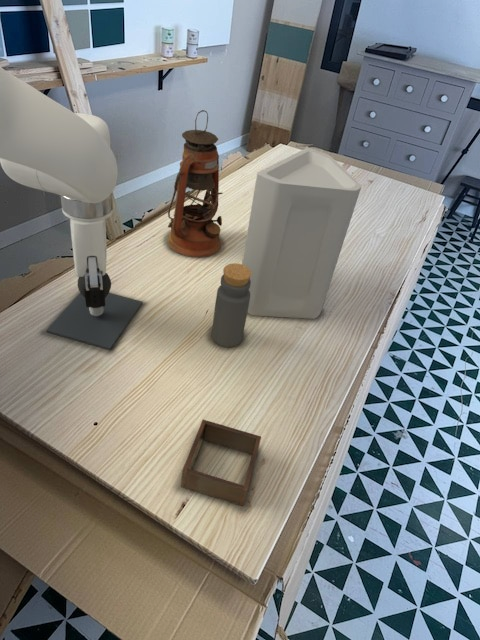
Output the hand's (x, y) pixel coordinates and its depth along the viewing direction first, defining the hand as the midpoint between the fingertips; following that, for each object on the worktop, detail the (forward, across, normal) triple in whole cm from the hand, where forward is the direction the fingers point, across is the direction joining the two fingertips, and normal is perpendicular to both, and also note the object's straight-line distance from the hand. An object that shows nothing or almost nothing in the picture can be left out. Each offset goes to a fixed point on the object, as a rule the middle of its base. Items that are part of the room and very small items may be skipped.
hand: (94, 293), depth 83 cm
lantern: (+6, -25, +24) cm, 35 cm away
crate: (+6, +35, +15) cm, 38 cm away
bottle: (+6, +8, +23) cm, 25 cm away
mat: (+6, 0, 0) cm, 6 cm away
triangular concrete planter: (+6, -1, +39) cm, 39 cm away
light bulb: (+5, 0, 0) cm, 5 cm away
